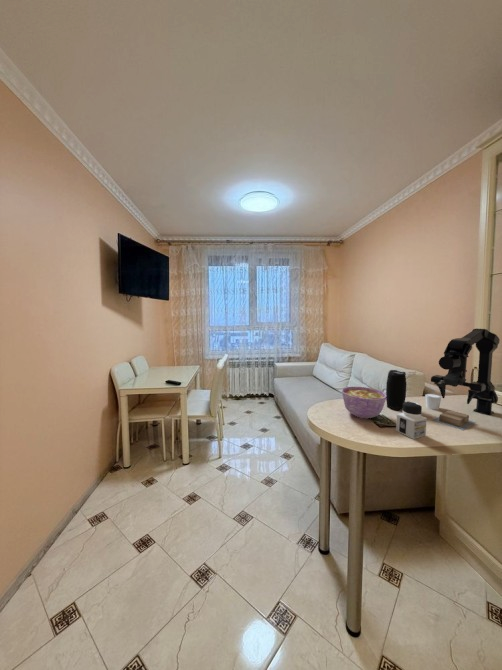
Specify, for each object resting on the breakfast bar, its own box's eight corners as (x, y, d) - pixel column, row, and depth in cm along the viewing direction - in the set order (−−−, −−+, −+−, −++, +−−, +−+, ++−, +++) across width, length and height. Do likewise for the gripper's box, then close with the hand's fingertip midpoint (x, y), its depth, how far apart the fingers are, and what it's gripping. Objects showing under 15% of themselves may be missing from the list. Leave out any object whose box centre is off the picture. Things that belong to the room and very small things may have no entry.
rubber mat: (445, 414, 125) (445, 413, 125) (476, 423, 115) (476, 422, 115) (431, 421, 117) (431, 420, 117) (463, 431, 107) (463, 430, 107)
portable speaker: (408, 408, 132) (410, 372, 130) (397, 412, 128) (400, 374, 126) (392, 403, 140) (394, 369, 138) (381, 406, 135) (383, 370, 133)
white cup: (435, 406, 136) (436, 393, 135) (443, 411, 129) (444, 398, 129) (421, 405, 137) (422, 393, 136) (429, 410, 130) (430, 397, 129)
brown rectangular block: (449, 416, 122) (449, 410, 122) (468, 421, 116) (469, 415, 116) (439, 421, 116) (439, 414, 116) (458, 427, 110) (459, 420, 110)
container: (413, 439, 100) (415, 407, 99) (395, 431, 107) (397, 401, 106) (426, 435, 103) (428, 405, 102) (407, 428, 110) (409, 399, 109)
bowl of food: (360, 405, 137) (361, 384, 136) (395, 419, 119) (396, 395, 118) (332, 411, 128) (332, 389, 127) (365, 427, 110) (366, 401, 109)
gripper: (426, 365, 118) (424, 398, 119) (478, 373, 102) (474, 411, 103) (437, 363, 124) (435, 394, 125) (487, 370, 108) (484, 406, 109)
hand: (455, 401), depth 115 cm, fingers open, 9 cm apart
